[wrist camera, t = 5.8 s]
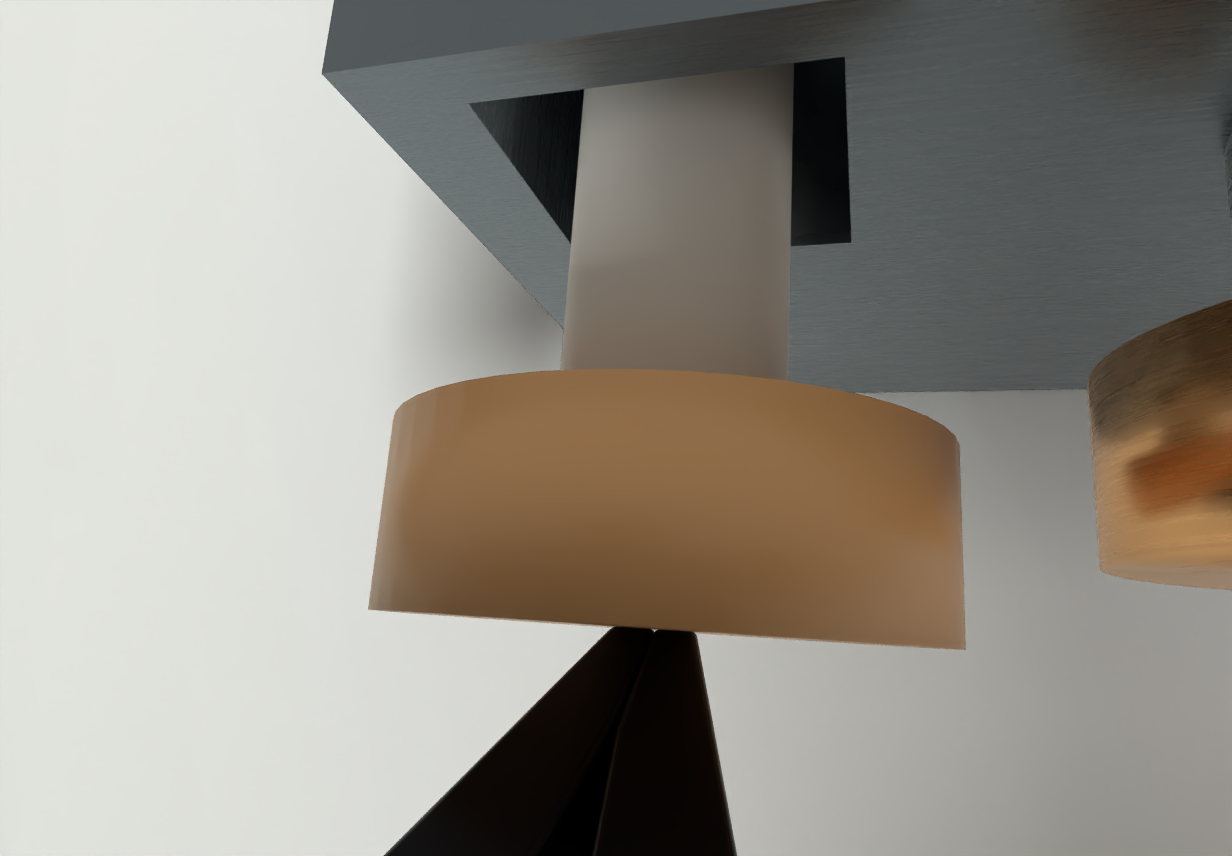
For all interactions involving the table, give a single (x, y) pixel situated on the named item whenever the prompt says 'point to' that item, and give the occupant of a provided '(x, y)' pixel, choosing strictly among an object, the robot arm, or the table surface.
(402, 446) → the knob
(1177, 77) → the mount
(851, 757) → the table surface
